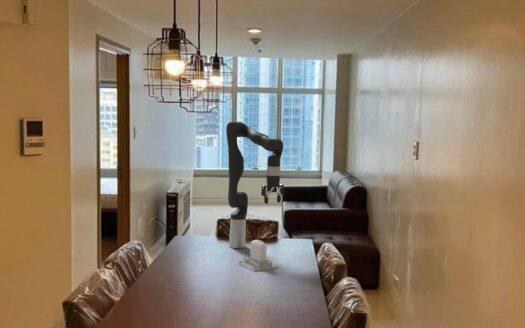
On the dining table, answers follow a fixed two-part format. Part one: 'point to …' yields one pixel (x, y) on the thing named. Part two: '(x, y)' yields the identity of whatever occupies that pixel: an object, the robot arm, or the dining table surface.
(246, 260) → the plate
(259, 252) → the photo printer
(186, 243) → the dining table surface
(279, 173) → the robot arm
